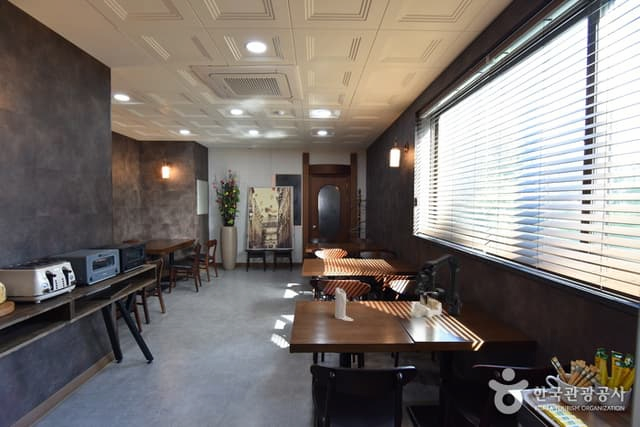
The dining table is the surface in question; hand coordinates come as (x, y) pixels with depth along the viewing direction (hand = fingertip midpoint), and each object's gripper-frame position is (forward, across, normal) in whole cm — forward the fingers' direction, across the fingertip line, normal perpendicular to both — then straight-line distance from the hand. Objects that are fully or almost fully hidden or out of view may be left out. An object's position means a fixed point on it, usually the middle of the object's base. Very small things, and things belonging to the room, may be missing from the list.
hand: (429, 304), depth 213 cm
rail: (+1, 0, 0) cm, 1 cm away
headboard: (+11, -4, -8) cm, 14 cm away
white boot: (+11, +55, -11) cm, 57 cm away
